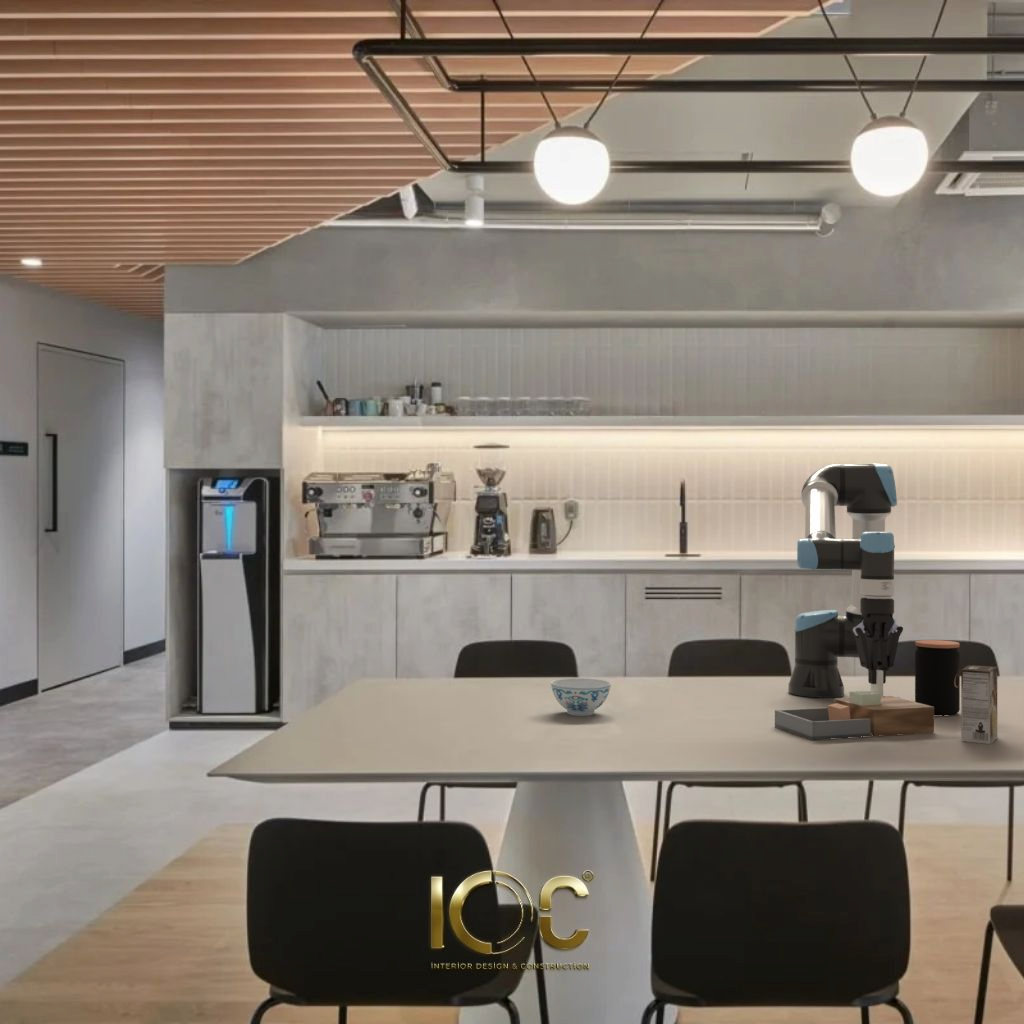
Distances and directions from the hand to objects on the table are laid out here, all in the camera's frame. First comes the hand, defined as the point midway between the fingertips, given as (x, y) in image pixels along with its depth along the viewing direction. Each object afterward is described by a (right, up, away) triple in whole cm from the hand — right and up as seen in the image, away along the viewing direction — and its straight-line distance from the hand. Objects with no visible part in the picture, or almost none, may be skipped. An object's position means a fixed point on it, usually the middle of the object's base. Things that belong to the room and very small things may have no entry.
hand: (877, 697), depth 256 cm
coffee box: (+19, -8, -12) cm, 24 cm away
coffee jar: (+22, -8, +21) cm, 32 cm away
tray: (-14, -7, -4) cm, 17 cm away
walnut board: (+2, -7, +1) cm, 8 cm away
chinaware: (-68, -7, +18) cm, 71 cm away
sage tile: (-3, -1, -1) cm, 3 cm away
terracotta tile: (-9, -4, -3) cm, 10 cm away
